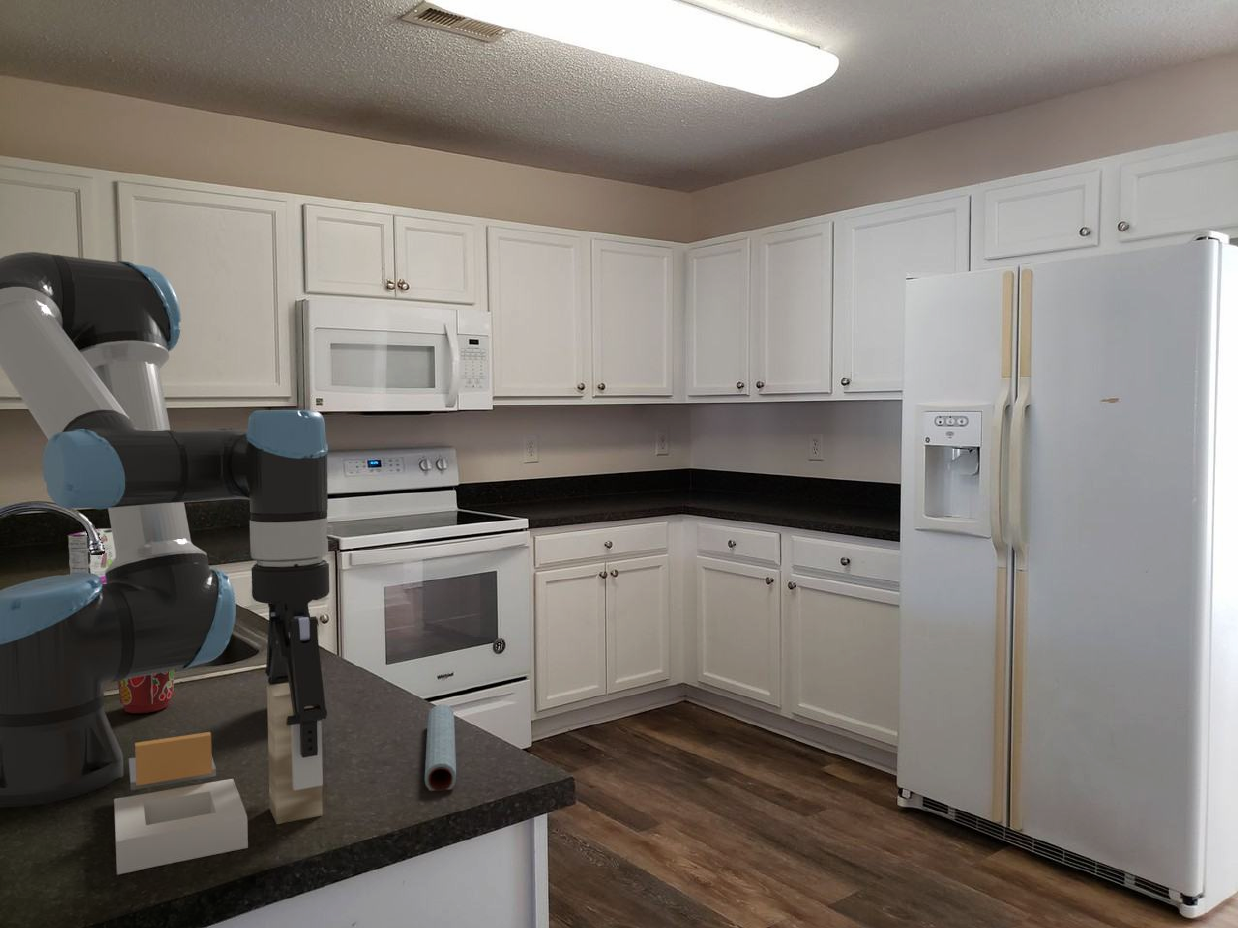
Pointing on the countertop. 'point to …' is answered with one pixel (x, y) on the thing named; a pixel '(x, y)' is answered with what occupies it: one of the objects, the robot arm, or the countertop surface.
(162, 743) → the shutter
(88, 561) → the candy bar box
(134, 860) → the socket
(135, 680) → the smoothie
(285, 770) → the peg
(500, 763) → the countertop surface
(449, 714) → the aluminum foil
